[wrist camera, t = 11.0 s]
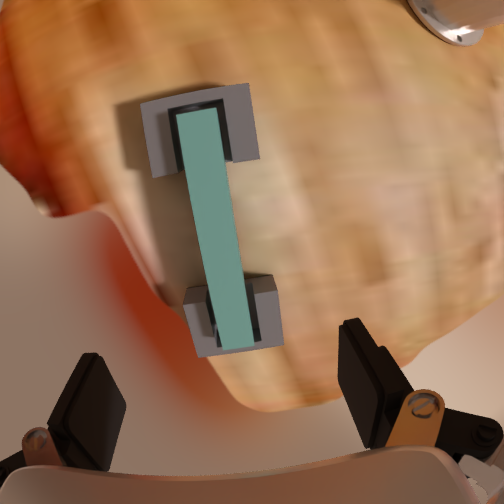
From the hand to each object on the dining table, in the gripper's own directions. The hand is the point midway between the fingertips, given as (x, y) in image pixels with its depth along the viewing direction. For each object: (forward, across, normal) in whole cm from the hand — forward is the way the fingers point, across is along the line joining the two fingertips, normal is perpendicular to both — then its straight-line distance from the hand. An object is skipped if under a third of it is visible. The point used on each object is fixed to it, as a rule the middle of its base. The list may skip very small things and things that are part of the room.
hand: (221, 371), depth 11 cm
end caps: (+20, +1, 0) cm, 20 cm away
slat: (+19, 0, 0) cm, 19 cm away
